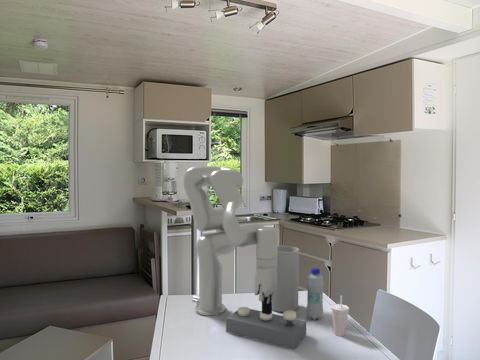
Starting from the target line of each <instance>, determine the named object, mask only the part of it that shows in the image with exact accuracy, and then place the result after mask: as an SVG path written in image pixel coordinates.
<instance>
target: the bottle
mask: <svg viewBox="0 0 480 360" xmlns="http://www.w3.org/2000/svg"><path fill="white" fill-rule="evenodd" d="M324 288H325V282H324V276H323V275H322V274H321V270H320V268H318V267H312V268H311V269H310V273H309V274H308V275H307V279H306V289H307V298H306V299H307V304H306V316H307V318H308V319H310V320H312V319H313V321H317V320H318V321H320V320H321V319H322V318H323V314H324V307H323V306H324V305H323V302H324V301H323V300H324V299H323V298H324Z"/></svg>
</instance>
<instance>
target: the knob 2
mask: <svg viewBox="0 0 480 360" xmlns="http://www.w3.org/2000/svg"><path fill="white" fill-rule="evenodd" d="M282 316H283V318H284V319H285V320H287V326H289V327H292V326H293V320H295V319H297V312H296V310H295V311H292V310H286V311H284V312H282Z"/></svg>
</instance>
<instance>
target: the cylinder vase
mask: <svg viewBox="0 0 480 360" xmlns="http://www.w3.org/2000/svg"><path fill="white" fill-rule="evenodd" d="M299 264H300V248H298V247H296V246H291V245H277V267H276V268H277V290H276V291H275V292H274V293H273V298H272V311H274V312H276V313H278V312H279V313H283V312H284V311H286V310H292V311H295V312H296V310H298V308H299V283H300V282H299V281H300V278H299V276H300V275H299V274H300V273H299V271H300V268H299V267H300V265H299Z"/></svg>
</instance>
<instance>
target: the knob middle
mask: <svg viewBox="0 0 480 360" xmlns="http://www.w3.org/2000/svg"><path fill="white" fill-rule="evenodd" d="M260 311H261V312H260V319H261V320H263V321H269V320H271V319H272V314H273V312H272V313H271V314H270V315H268V314H263V313H262V310H260Z"/></svg>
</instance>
